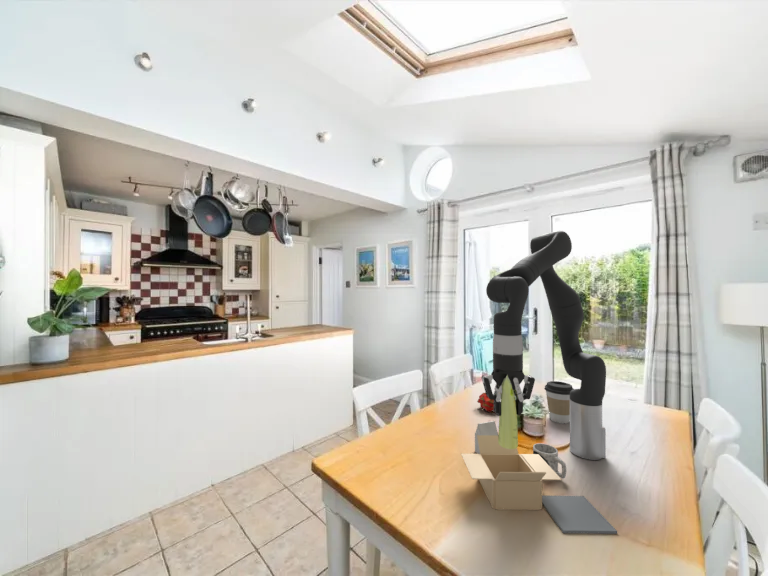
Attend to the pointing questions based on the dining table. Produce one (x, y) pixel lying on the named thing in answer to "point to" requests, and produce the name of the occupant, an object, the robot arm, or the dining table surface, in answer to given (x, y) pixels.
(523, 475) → the carton
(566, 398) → the coffee cup
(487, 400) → the dragon fruit
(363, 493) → the dining table surface
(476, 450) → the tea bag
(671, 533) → the dining table surface
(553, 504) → the mat
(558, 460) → the mug
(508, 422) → the light green tall cone
